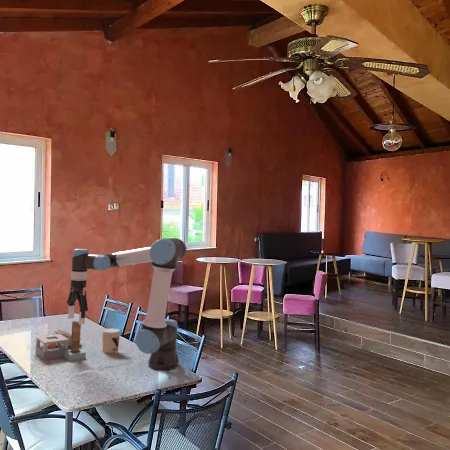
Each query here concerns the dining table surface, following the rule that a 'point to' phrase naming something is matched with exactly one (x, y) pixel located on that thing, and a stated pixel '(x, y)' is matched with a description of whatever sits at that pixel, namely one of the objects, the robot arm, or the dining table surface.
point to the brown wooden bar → (75, 337)
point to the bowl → (64, 336)
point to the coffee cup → (111, 340)
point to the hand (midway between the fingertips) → (76, 321)
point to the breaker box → (53, 352)
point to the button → (51, 345)
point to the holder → (74, 355)
